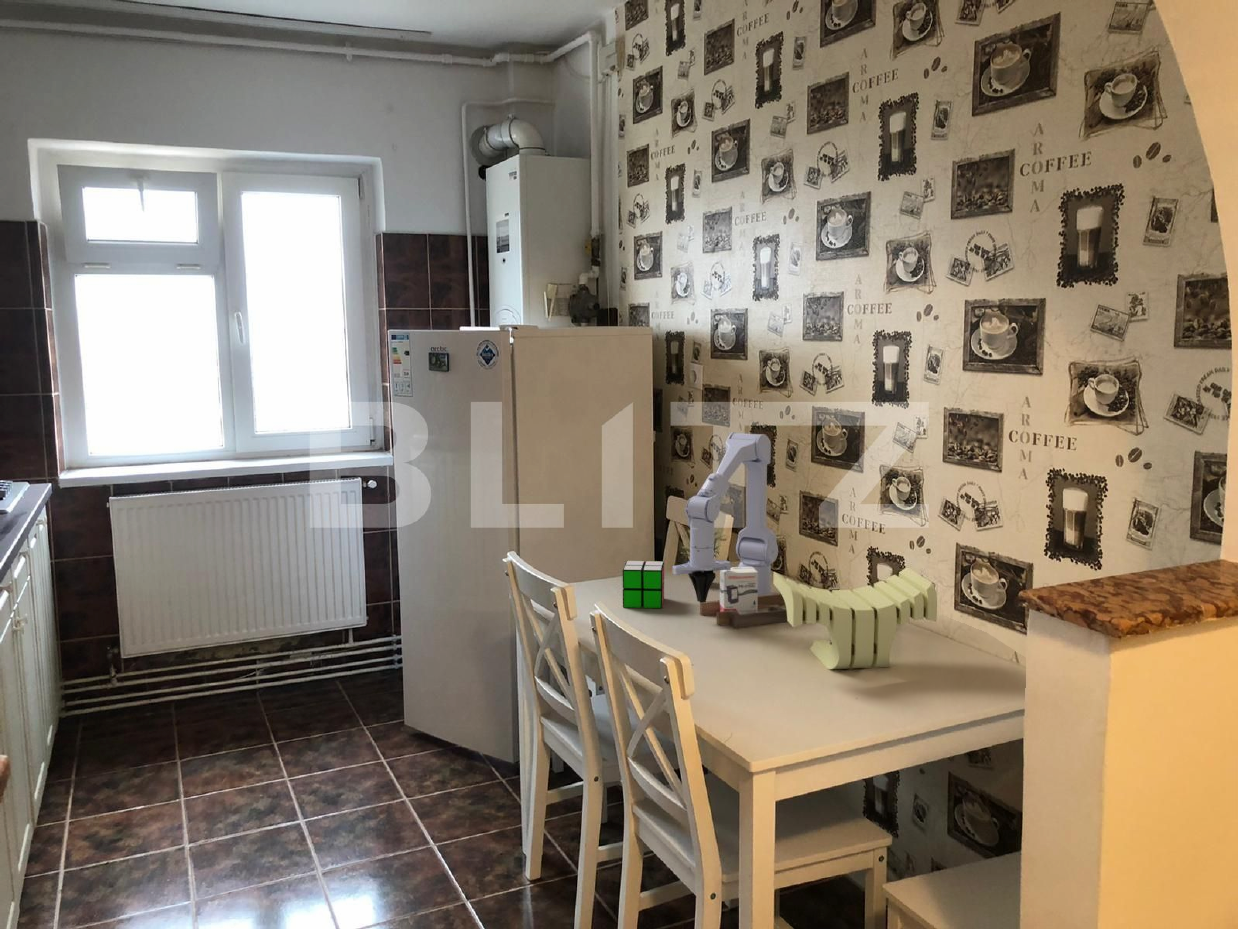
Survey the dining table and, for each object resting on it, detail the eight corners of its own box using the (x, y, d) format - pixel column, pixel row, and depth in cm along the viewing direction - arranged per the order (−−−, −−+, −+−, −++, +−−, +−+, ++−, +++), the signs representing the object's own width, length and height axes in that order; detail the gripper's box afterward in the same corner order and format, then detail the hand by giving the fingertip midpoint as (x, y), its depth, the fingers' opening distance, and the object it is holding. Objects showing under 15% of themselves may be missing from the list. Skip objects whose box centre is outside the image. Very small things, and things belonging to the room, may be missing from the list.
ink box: (723, 620, 239) (724, 572, 237) (719, 614, 244) (719, 567, 242) (758, 618, 240) (758, 571, 238) (752, 612, 245) (753, 566, 243)
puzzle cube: (664, 598, 258) (664, 561, 257) (662, 609, 248) (662, 570, 247) (626, 597, 259) (626, 560, 258) (622, 608, 249) (622, 569, 248)
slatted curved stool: (792, 676, 200) (793, 590, 198) (772, 650, 216) (773, 571, 214) (934, 670, 203) (937, 586, 201) (904, 645, 219) (907, 567, 217)
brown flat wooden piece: (700, 614, 244) (700, 602, 243) (808, 601, 255) (808, 589, 254) (726, 630, 231) (726, 617, 230) (839, 615, 242) (839, 603, 241)
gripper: (681, 552, 229) (681, 608, 231) (736, 547, 235) (736, 602, 236) (669, 545, 236) (668, 601, 238) (723, 541, 241) (722, 595, 243)
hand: (701, 601), depth 238 cm, fingers closed
